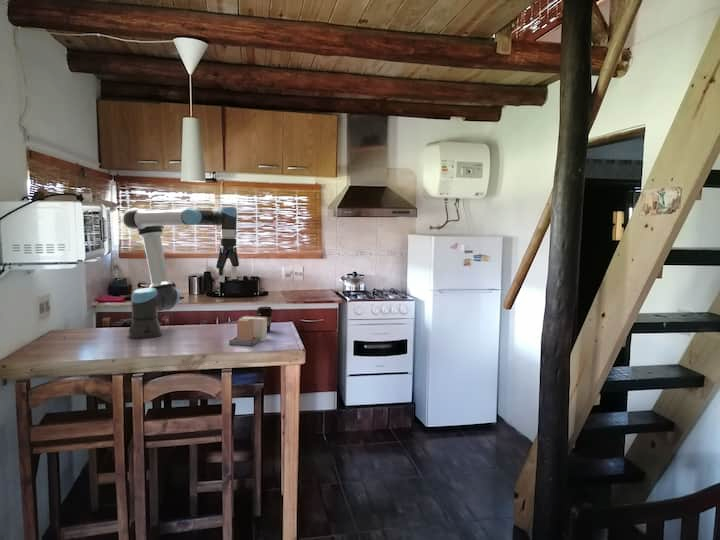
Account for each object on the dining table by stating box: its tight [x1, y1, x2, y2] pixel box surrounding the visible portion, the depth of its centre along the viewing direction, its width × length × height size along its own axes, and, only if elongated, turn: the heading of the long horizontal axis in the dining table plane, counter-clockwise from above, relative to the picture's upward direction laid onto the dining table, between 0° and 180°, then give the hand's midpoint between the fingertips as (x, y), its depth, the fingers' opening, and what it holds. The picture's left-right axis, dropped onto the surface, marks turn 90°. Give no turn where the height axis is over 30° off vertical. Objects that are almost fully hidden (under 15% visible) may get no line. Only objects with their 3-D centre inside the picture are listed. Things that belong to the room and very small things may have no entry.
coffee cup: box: [256, 306, 274, 333], centre depth 256 cm, size 9×8×13 cm
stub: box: [236, 319, 253, 341], centre depth 229 cm, size 6×5×11 cm
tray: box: [229, 336, 260, 347], centre depth 230 cm, size 11×9×2 cm
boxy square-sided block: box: [238, 315, 268, 343], centre depth 238 cm, size 12×6×11 cm, turn 81°
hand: (227, 280), depth 240 cm, fingers open, 13 cm apart
